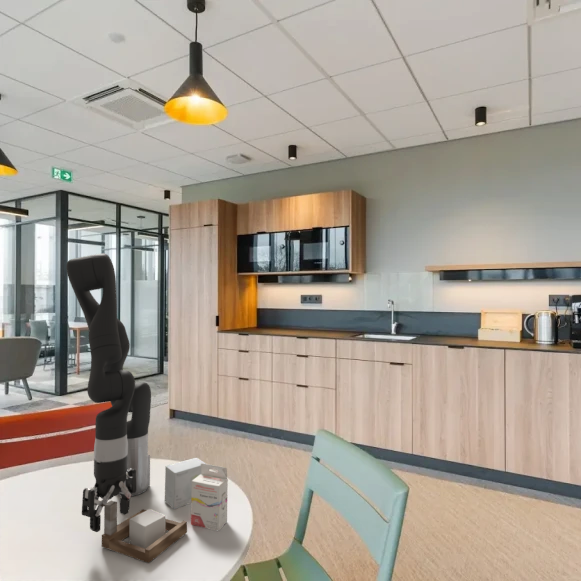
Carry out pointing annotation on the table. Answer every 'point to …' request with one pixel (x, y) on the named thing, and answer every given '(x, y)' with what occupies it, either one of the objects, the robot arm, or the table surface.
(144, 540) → the white cube
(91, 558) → the table surface
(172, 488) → the skincare box
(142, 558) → the pull frame
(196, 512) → the ink cartridge box
